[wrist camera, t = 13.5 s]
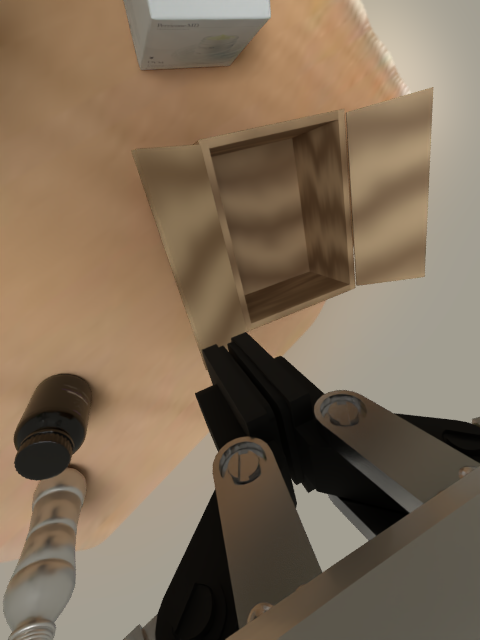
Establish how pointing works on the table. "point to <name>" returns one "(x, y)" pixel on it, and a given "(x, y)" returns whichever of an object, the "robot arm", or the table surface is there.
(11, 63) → the table surface
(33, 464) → the supplement bottle
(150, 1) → the skincare box
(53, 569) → the plastic bottle
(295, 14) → the table surface
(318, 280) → the carton
